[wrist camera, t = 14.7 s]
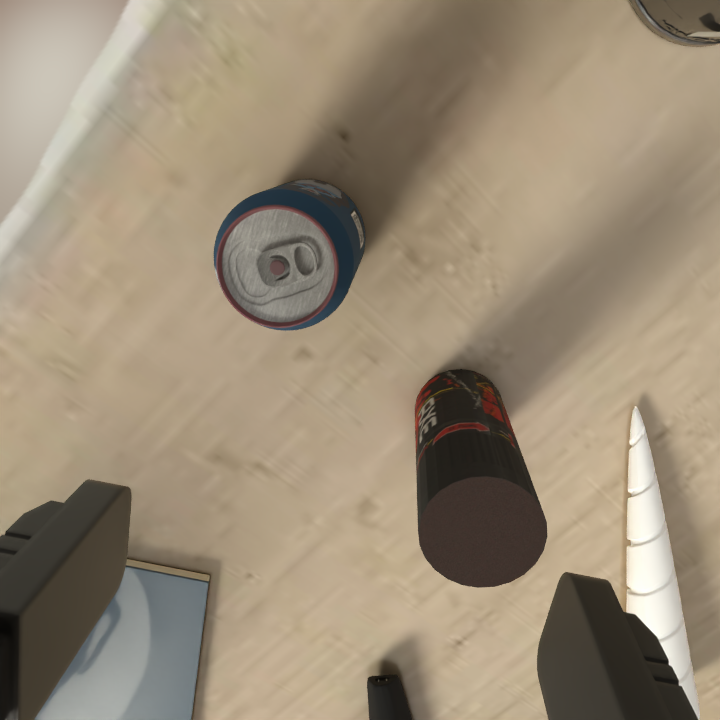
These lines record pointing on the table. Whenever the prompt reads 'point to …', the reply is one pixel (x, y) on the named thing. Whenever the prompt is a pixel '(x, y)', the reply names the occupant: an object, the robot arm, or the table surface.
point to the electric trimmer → (387, 699)
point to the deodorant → (473, 484)
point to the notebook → (138, 651)
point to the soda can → (290, 253)
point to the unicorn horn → (654, 562)
